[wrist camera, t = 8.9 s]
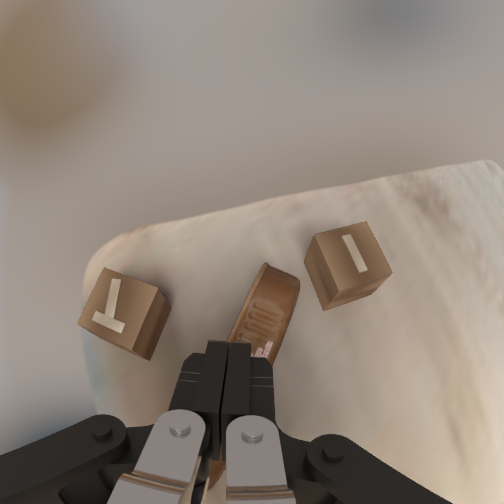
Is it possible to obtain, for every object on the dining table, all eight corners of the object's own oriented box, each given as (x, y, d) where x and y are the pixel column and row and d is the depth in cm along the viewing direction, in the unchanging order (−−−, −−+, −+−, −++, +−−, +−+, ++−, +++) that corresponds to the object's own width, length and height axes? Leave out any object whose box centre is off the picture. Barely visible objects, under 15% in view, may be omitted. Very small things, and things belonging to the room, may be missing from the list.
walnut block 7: (171, 308, 25) (157, 286, 20) (150, 361, 23) (130, 349, 18) (123, 290, 25) (103, 266, 21) (101, 339, 23) (76, 323, 19)
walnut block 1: (350, 249, 28) (367, 219, 23) (370, 294, 26) (393, 271, 22) (303, 262, 27) (314, 233, 23) (323, 311, 25) (339, 290, 21)
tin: (256, 288, 26) (263, 233, 18) (293, 303, 25) (316, 253, 18) (175, 462, 19) (142, 487, 12) (216, 480, 19) (203, 515, 11)
